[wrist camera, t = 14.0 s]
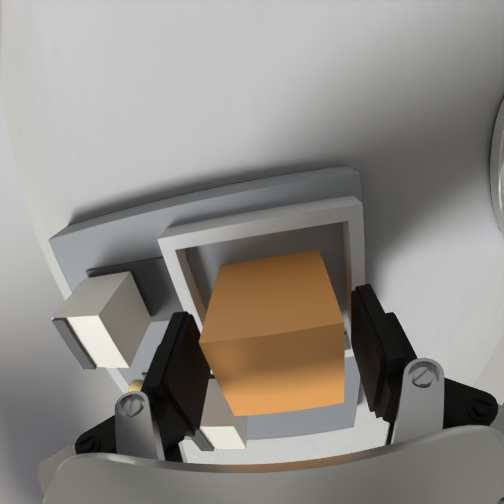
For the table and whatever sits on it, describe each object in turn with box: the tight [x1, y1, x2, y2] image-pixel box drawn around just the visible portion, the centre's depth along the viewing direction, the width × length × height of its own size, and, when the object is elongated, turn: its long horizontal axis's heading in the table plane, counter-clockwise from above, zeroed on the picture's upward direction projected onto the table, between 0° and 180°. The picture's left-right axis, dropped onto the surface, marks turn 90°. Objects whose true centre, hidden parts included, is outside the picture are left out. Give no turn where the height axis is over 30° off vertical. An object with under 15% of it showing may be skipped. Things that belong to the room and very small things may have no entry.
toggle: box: [52, 271, 152, 369], centre depth 12 cm, size 3×3×4 cm
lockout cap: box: [199, 249, 345, 416], centre depth 12 cm, size 4×4×5 cm
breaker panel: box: [49, 165, 366, 440], centre depth 17 cm, size 20×16×3 cm
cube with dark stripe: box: [189, 379, 248, 451], centre depth 15 cm, size 3×3×4 cm
